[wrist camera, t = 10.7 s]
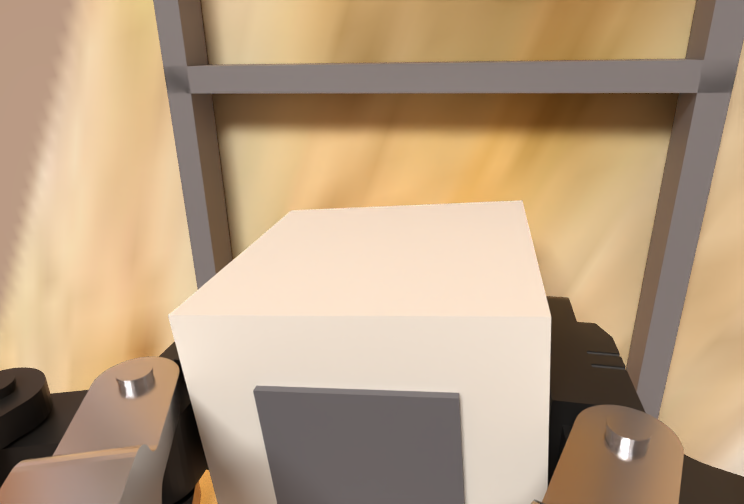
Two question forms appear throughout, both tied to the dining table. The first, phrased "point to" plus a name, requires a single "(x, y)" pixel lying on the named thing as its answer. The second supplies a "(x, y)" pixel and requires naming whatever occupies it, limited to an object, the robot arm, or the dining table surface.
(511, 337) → the white and grey cube
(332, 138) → the dining table surface
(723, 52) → the frame
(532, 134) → the dining table surface
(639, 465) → the robot arm
